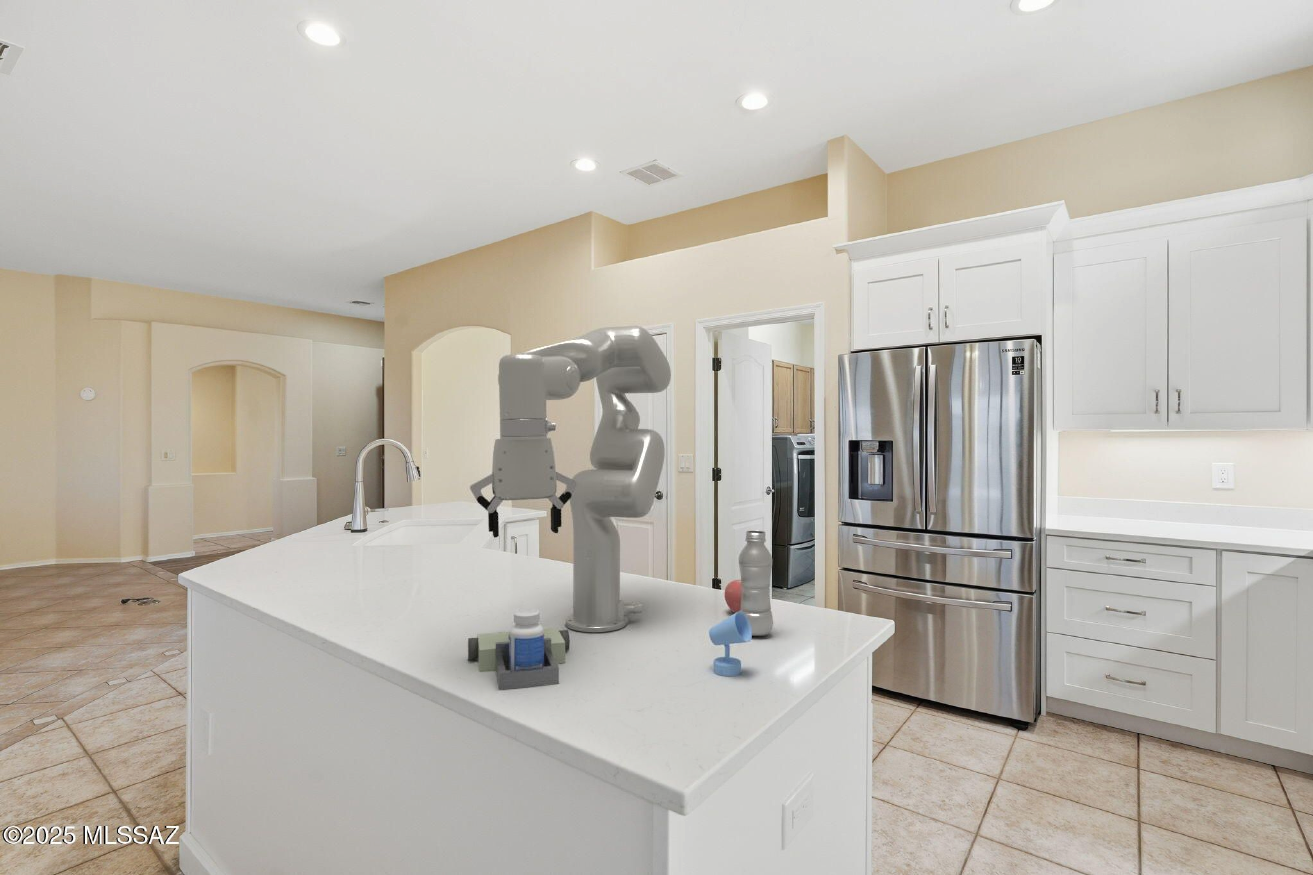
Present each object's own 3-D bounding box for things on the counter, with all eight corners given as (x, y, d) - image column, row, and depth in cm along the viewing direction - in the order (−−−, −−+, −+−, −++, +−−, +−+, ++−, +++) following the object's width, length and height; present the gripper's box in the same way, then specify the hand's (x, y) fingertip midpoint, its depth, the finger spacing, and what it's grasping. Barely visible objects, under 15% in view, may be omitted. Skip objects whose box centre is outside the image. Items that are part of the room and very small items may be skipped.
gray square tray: (550, 664, 110) (550, 637, 110) (558, 683, 102) (558, 654, 102) (495, 669, 108) (495, 642, 108) (499, 690, 99) (499, 660, 99)
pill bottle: (550, 673, 105) (551, 612, 105) (522, 682, 101) (523, 619, 101) (530, 665, 109) (530, 606, 109) (502, 673, 105) (502, 612, 105)
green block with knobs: (565, 645, 120) (565, 623, 120) (574, 661, 111) (574, 637, 111) (467, 654, 115) (468, 631, 115) (469, 672, 106) (469, 647, 106)
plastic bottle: (765, 642, 123) (765, 535, 123) (732, 636, 126) (732, 532, 126) (778, 633, 128) (778, 531, 128) (746, 628, 132) (746, 528, 132)
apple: (735, 607, 148) (735, 571, 148) (764, 612, 144) (764, 576, 144) (718, 614, 142) (718, 577, 142) (748, 620, 138) (748, 582, 138)
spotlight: (755, 671, 107) (717, 663, 111) (755, 610, 107) (717, 604, 111) (742, 680, 103) (703, 672, 107) (743, 617, 103) (704, 610, 107)
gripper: (571, 428, 114) (572, 526, 114) (467, 430, 108) (469, 533, 109) (580, 429, 107) (582, 534, 107) (470, 431, 101) (472, 542, 102)
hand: (525, 533), depth 108 cm, fingers open, 9 cm apart
